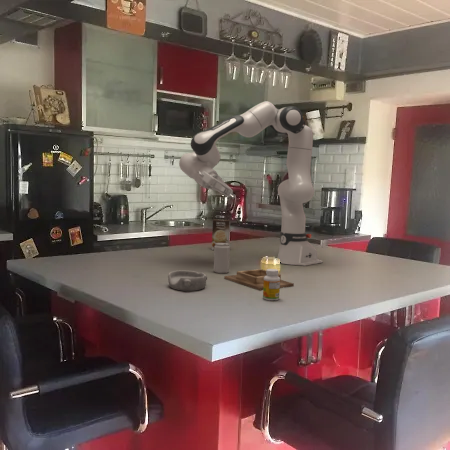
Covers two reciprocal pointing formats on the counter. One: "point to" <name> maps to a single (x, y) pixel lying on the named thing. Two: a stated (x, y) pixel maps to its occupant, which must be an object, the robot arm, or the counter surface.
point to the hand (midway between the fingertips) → (229, 193)
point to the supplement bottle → (271, 285)
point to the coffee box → (220, 232)
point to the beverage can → (221, 257)
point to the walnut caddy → (254, 279)
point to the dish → (187, 280)
